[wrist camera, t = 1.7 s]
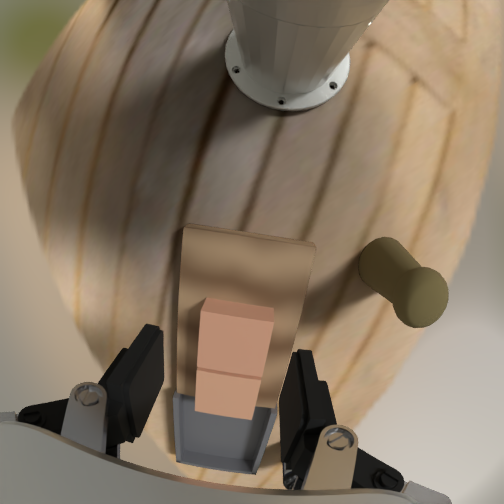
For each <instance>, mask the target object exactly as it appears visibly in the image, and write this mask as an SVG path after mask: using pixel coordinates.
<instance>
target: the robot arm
mask: <svg viewBox="0 0 504 504" xmlns="http://www.w3.org/2000/svg"><path fill="white" fill-rule="evenodd" d="M388 1H389V0H227V3H228V7H229V11H230V15H231V19H232V23H233V27H234V29H233V30H232V32H231V34H230V35H229V37H228V40H227V43H226V46H225V61H226V67H227V70H228V72H229V74H230V76H231V78H232V80H233V82H234V83H235V85H236V86H237V87H238V88H239V90H240V91H241V92H243V93H244V94H245V95H246V96H247V97H248V98H250V99H252V100H253V101H255V102H257V103H258V104H260V105H263V106H266V107H268V108H271V109H276V110H281V111H302V110H308V109H311V108H315V107H318V106H320V105H322V104H324V103H326V102H327V101H329V100H330V99H331V98H332V97H334V96H335V95H336V94H337V93H338V92H339V91H340V90H341V88H342V87H343V85H344V84H345V82H346V80H347V77H348V74H349V71H350V55H349V51H350V50H351V49H352V47H353V46H354V45H355V44H356V42H357V41H358V40H359V38H360V37H361V36H362V34H363V33H364V32H365V31H366V29H367V28H368V27H369V25H370V24H371V23H372V22H373V20H374V19H375V18H376V17H377V15H378V14H379V13H380V12H381V10H382V9H383V7H384V6H385V5H386V4H387V2H388ZM237 70H238V71H239V73H235V71H237ZM330 86H333V87H334V89H331V88H330ZM279 101H283V102H284V104H283V105H280V104H279V103H278V102H279ZM163 382H164V348H163V331H162V330H160V328H159V326H155V325H150V324H146V325H145V326H144V327H143V329H142V330H141V331H140V333H139V334H138V336H137V337H136V339H135V340H134V341H133V343H132V344H131V346H130V347H129V349H127V348H123V349H122V350H121V351H120V353H119V354H118V355H117V357H116V358H115V360H114V361H113V362H112V364H111V365H110V367H109V368H108V369H107V371H106V372H105V374H104V375H103V377H102V378H101V380H100V381H99V383H98V384H97V383H93V382H84V383H80V384H78V385H76V386H75V387H74V388H73V389H72V391H71V393H70V397H69V398H67V399H63V400H58V401H53V402H48V403H42V404H37V405H31V406H28V407H25V408H24V409H22V410H21V412H20V413H19V414H16V413H15V412H2V413H0V504H452V503H451V500H450V499H449V497H448V496H446V495H444V494H442V493H439V492H436V491H434V490H431V489H429V488H426V487H424V486H421V485H419V484H416V483H414V482H412V481H409V482H408V483H407V482H405V481H404V478H403V476H402V475H401V473H400V472H399V471H397V470H396V469H394V468H392V467H390V466H389V465H387V464H385V463H383V462H382V461H380V460H378V459H376V458H375V457H373V456H371V455H369V454H368V453H366V452H365V451H363V450H361V449H359V448H358V438H357V435H356V434H355V433H354V431H353V430H351V429H350V428H348V427H346V426H343V425H337V423H336V418H335V414H334V410H333V406H332V402H331V397H330V393H329V389H328V385H327V382H326V381H319V380H318V377H317V372H316V368H315V363H314V359H313V355H312V351H311V350H302V349H298V351H297V352H293V353H292V356H291V360H290V363H289V367H288V370H287V374H286V377H285V381H284V384H283V387H282V391H281V394H280V398H279V415H280V444H281V462H282V463H286V470H292V472H293V473H294V474H296V475H297V477H296V480H295V482H294V485H293V488H292V490H283V489H263V488H251V487H241V486H233V485H225V484H218V483H212V482H206V481H200V480H195V479H190V478H185V477H181V476H176V475H172V474H168V473H164V472H160V471H156V470H153V469H149V468H146V467H142V466H139V465H136V464H133V463H130V462H126V461H123V460H121V459H120V444H121V443H124V442H125V441H128V442H131V443H133V441H134V439H135V437H138V438H139V437H140V435H141V433H142V431H143V428H144V426H145V424H146V421H147V419H148V417H149V414H150V412H151V410H152V408H153V405H154V403H155V401H156V398H157V396H158V394H159V391H160V389H161V387H162V385H163Z"/></svg>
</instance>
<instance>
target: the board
mask: <svg viewBox="0 0 504 504" xmlns="http://www.w3.org/2000/svg"><path fill="white" fill-rule="evenodd" d="M315 252H316V246H315V245H314V243H313V242H306V241H300V240H294V239H288V238H282V237H275V236H269V235H263V234H256V233H250V232H243V231H236V230H230V229H223V228H216V227H210V226H203V225H196V224H187V225H186V226H185V227H184V229H183V240H182V252H181V266H180V282H179V300H178V326H177V393H180V394H184V395H189V396H194V397H195V394H196V374H197V368H198V367H197V357H198V341H199V327H200V315H201V309H202V307H203V305H204V302H205V300H206V298H213V299H219V300H225V301H231V302H237V303H244V304H250V305H257V306H264V307H271V308H274V326H273V331H272V335H271V340H270V344H269V349H268V353H267V358H266V362H265V367H264V371H263V375H262V377H261V384H260V388H259V392H258V397H257V401H256V405H255V406H257V407H266V408H275V406H276V403H277V400H278V397H279V393H280V390H281V387H282V383H283V380H284V376H285V373H286V369H287V366H288V362H289V358H290V355H291V351H292V347H293V344H294V340H295V336H296V332H297V329H298V325H299V321H300V317H301V313H302V309H303V305H304V300H305V296H306V292H307V288H308V283H309V279H310V275H311V270H312V266H313V261H314V256H315Z"/></svg>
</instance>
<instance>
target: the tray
mask: <svg viewBox="0 0 504 504" xmlns="http://www.w3.org/2000/svg"><path fill="white" fill-rule="evenodd" d="M173 416H174V435H175V450H176V462H179V463H183V464H188V465H193V466H198V467H203V468H209V469H215V470H221V471H228V472H236V473H245V474H255V475H256V473H257V470H258V467H259V465H260V462H261V459H262V457H263V454H264V451H265V448H266V446H267V443H268V440H269V437H270V434H271V431H272V428H273V425H274V422H275V419H276V416H277V403H276V406H275V408H266V407H257V406H255V409H254V413H253V417H252V420H248V419H241V418H233V417H227V416H220V415H214V414H209V413H203V412H198V411H195V397H194V396H189V395H184V394H180V393H177V388H176V390H175V393H174V395H173Z"/></svg>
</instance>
